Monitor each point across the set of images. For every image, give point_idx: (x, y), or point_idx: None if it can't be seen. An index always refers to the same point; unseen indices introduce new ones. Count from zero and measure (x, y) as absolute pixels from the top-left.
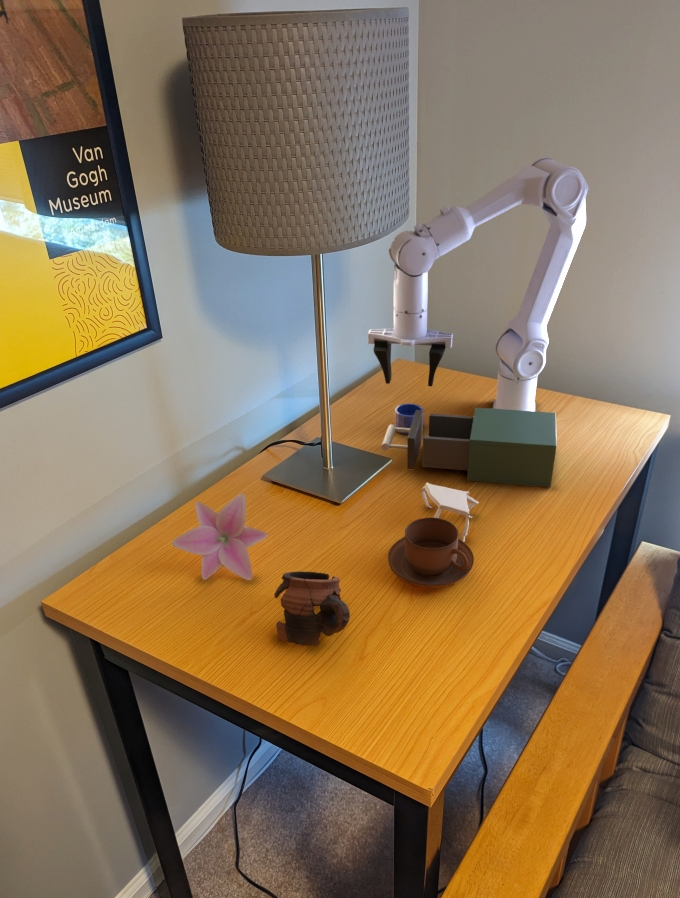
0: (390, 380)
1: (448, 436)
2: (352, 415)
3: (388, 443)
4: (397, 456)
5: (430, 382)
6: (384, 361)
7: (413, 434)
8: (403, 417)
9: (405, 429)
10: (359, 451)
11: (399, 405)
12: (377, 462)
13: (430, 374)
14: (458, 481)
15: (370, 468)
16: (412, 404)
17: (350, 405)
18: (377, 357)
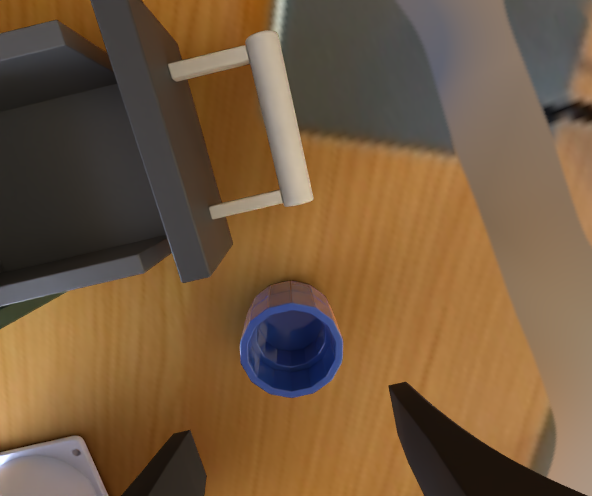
0: (394, 416)
1: (101, 251)
2: (481, 333)
3: (252, 48)
4: (257, 148)
5: (169, 446)
6: (481, 477)
7: (110, 27)
8: (293, 300)
9: (240, 199)
10: (383, 132)
11: (337, 369)
12: (302, 86)
13: (146, 485)
14: None
15: (308, 38)
16: (296, 391)
17: (506, 385)
18: (569, 489)
